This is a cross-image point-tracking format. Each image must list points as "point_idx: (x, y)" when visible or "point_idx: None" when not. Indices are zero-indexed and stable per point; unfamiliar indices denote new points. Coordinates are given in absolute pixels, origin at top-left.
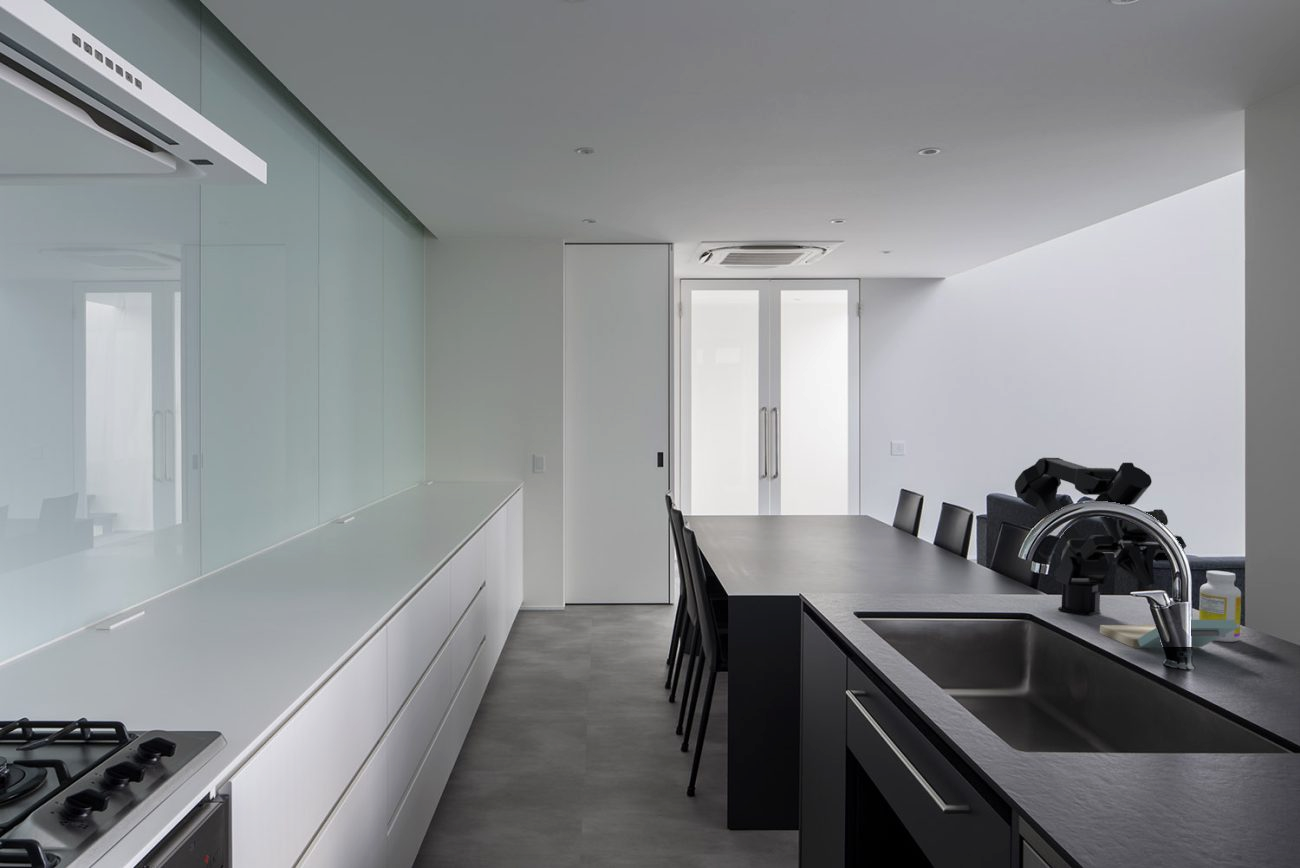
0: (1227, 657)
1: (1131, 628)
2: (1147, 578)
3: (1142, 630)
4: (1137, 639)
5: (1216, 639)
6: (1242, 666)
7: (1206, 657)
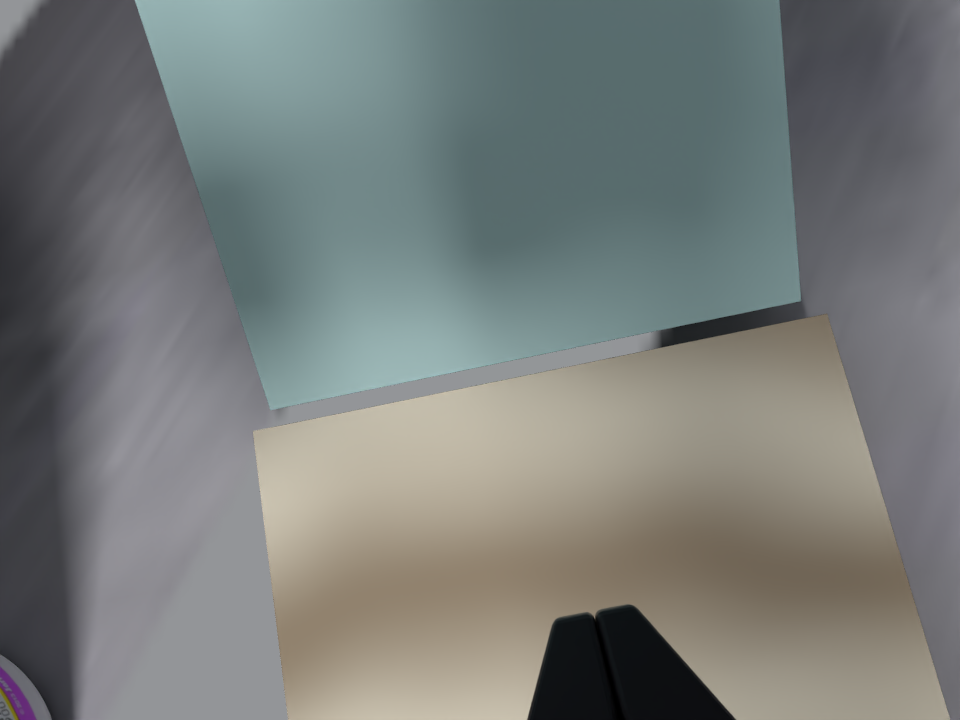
0: None
1: None
2: (683, 666)
3: None
4: (799, 298)
5: (16, 666)
6: None
7: None
